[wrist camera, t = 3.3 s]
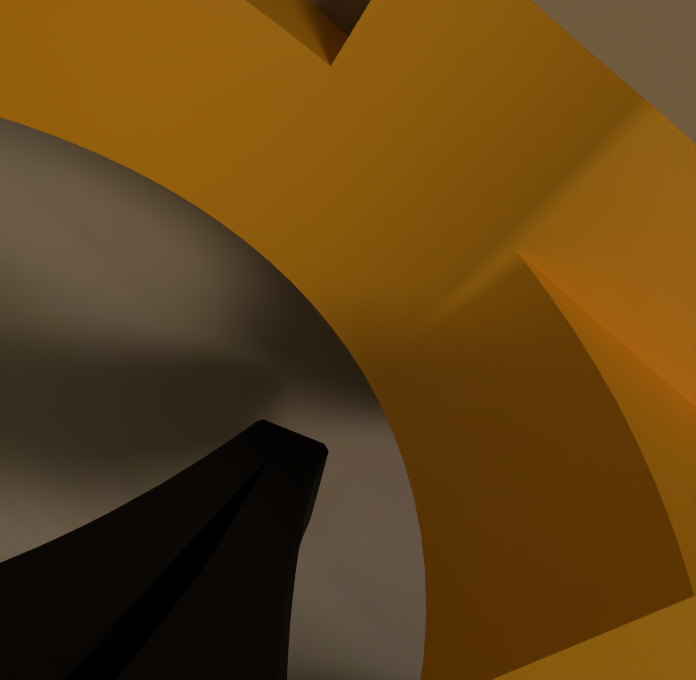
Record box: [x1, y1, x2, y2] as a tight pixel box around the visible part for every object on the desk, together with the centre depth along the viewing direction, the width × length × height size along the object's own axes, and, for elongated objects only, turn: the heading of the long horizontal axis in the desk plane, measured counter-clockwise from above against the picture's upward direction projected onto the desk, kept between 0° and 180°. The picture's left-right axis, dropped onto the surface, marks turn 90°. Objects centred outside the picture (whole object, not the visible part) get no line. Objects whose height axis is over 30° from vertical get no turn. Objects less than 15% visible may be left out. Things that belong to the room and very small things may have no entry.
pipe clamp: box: [0, 0, 696, 680], centre depth 6 cm, size 12×4×6 cm, turn 53°
